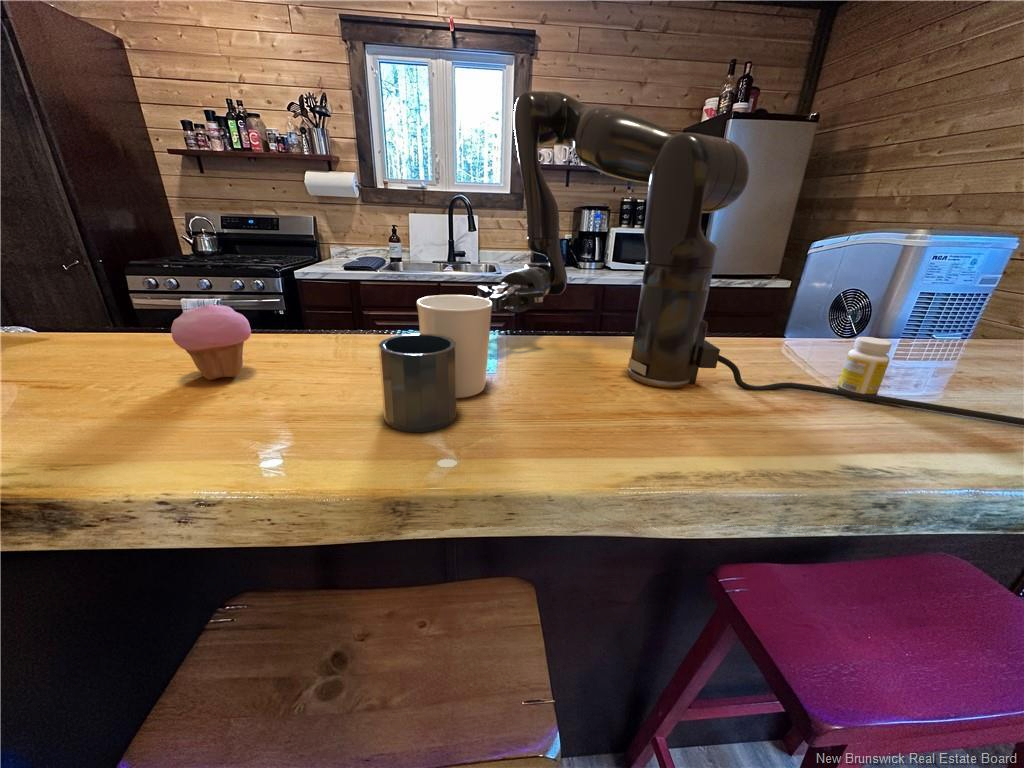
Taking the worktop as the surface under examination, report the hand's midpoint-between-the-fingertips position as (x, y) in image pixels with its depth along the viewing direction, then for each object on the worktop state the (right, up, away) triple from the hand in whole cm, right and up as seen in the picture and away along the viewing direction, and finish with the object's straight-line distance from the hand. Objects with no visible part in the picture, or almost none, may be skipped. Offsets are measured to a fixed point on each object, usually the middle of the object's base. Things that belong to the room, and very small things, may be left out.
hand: (492, 304), depth 70 cm
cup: (-8, -16, -17) cm, 25 cm away
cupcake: (-38, -12, -8) cm, 40 cm away
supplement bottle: (+54, -14, -5) cm, 56 cm away
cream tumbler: (-5, -13, -8) cm, 16 cm away
